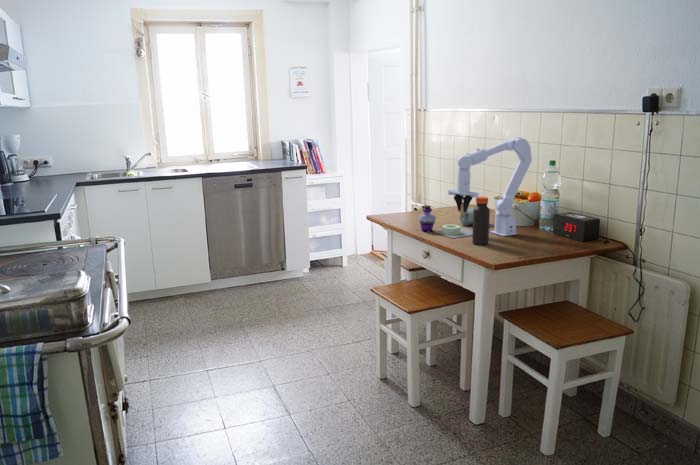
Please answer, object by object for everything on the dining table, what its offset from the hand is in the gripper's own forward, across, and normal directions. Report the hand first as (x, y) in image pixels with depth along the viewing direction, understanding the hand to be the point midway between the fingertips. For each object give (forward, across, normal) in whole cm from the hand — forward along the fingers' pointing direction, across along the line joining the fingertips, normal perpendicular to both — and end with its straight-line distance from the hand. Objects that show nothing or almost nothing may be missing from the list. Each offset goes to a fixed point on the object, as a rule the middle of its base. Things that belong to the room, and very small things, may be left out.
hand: (462, 211), depth 265 cm
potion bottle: (+10, +16, +6) cm, 19 cm away
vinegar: (+10, -16, +14) cm, 24 cm away
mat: (+10, +1, +3) cm, 10 cm away
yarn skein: (+10, +4, -19) cm, 22 cm away
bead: (+10, +3, +5) cm, 11 cm away
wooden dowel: (+3, 0, 0) cm, 3 cm away
